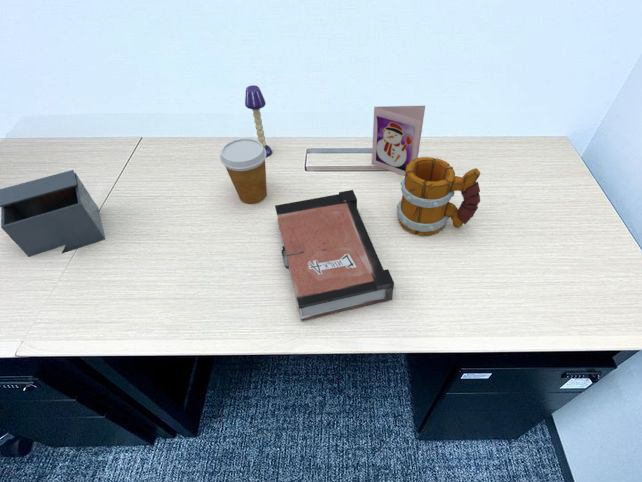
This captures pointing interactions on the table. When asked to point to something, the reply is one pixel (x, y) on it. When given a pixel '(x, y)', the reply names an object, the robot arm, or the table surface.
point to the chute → (54, 221)
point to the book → (331, 256)
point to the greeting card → (396, 136)
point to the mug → (435, 196)
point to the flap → (37, 188)
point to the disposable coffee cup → (246, 168)
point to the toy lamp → (257, 112)
